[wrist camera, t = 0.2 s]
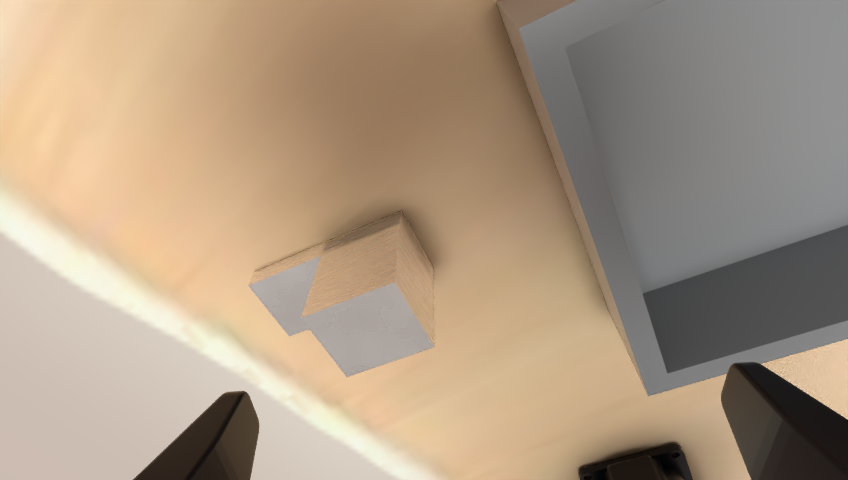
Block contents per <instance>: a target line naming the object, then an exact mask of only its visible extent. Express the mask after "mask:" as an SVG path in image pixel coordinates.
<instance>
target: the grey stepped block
mask: <svg viewBox="0 0 848 480" xmlns="http://www.w3.org/2000/svg"><path fill="white" fill-rule="evenodd" d="M248 286H249V287H250V288H251V290H252V291H253V292H254V293H255V294H256V296H257V297H258V298H259V299H260V301H261V302H262V303H263V304H264V306H265V307H266V308H267V309H268V311H269V312H270V313H271V314H272V315H273V317H274V318H275V319H276V320H277V322H278V323H279V324H280V325H281V327H282V328H283V329H284V330H285V332H286V333H287V334H288V335H289V336H292V335H294V334H297V333H300V332H302V331H305V330H308V329H310V330H311V331H312V333H313V334H314V335H315V337H316V338H317V339H318V340H319V342H320V343H321V344H322V346H323V347H324V348H325V349H326V351H327V352H328V353H329V355H330V356H331V357H332V358H333V360H334V361H335V362H336V364H337V365H338V366H339V368H340V369H341V370H342V371H343V373H344V374H345V375H346V377H348V376H351V375H354V374H357V373H360V372H363V371H366V370H369V369H372V368H375V367H378V366H380V365H383V364H386V363H389V362H392V361H395V360H398V359H401V358H404V357H407V356H410V355H413V354H415V353H418V352H421V351H424V350H427V349H430V348H433V347H435V331H434V268H433V266H432V264H431V262H430V260H429V259H428V257H427V255H426V253H425V252H424V250H423V248H422V246H421V244H420V243H419V241H418V239H417V237H416V236H415V234H414V232H413V230H412V228H411V227H410V225H409V223H408V221H407V220H406V218H405V216H404V214H403V212H402V211H398V212H396V213H394V214H391V215H389V216H387V217H384V218H382V219H379V220H377V221H375V222H372V223H370V224H367V225H365V226H363V227H360V228H358V229H355V230H353V231H351V232H348V233H346V234H343V235H341V236H339V237H336V238H334V239H331V240H329V241H327V242H324V243H322V244H319V245H317V246H315V247H312V248H310V249H308V250H305V251H303V252H300V253H298V254H296V255H293V256H291V257H288V258H286V259H284V260H281V261H279V262H276V263H274V264H272V265H269V266H267V267H264V268H262V269H260V270H257V271H255V273H254V275H253V277H252V279H251V281H250V283H249V285H248Z"/></svg>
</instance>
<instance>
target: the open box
mask: <svg viewBox="0 0 848 480" xmlns="http://www.w3.org/2000/svg"><path fill="white" fill-rule="evenodd" d="M496 3H497V6H498V9H499V12H500V14H501V17H502V20H503V23H504V25H505V28H506V31H507V34H508V36H509V39H510V42H511V45H512V47H513V50H514V53H515V55H516V58H517V61H518V64H519V66H520V69H521V72H522V75H523V77H524V80H525V83H526V86H527V88H528V91H529V94H530V97H531V99H532V102H533V105H534V107H535V110H536V113H537V116H538V118H539V121H540V124H541V127H542V129H543V132H544V135H545V138H546V140H547V143H548V146H549V149H550V151H551V154H552V157H553V160H554V162H555V165H556V168H557V170H558V173H559V176H560V179H561V181H562V184H563V187H564V190H565V192H566V195H567V198H568V201H569V203H570V206H571V209H572V212H573V214H574V217H575V220H576V222H577V225H578V228H579V231H580V233H581V236H582V239H583V242H584V244H585V247H586V250H587V253H588V255H589V258H590V261H591V264H592V266H593V269H594V272H595V275H596V277H597V280H598V283H599V285H600V288H601V291H602V294H603V296H604V299H605V302H606V305H607V307H608V310H609V313H610V315H611V317H612V319H613V321H614V323H615V326H616V328H617V330H618V332H619V334H620V336H621V339H622V341H623V343H624V345H625V347H626V349H627V351H628V354H629V356H630V358H631V360H632V362H633V364H634V367H635V369H636V371H637V373H638V375H639V377H640V380H641V382H642V384H643V386H644V388H645V390H646V393H647V395H648V396H651V395H654V394H658V393H661V392H664V391H668V390H671V389H675V388H678V387H682V386H685V385H689V384H692V383H696V382H699V381H703V380H706V379H710V378H713V377H717V376H720V375H723V374H727V373H728V369H729V367H730V366H731V365H732V364H733V363H741V362H756V363H759V364H762V363H765V362H769V361H772V360H776V359H779V358H783V357H786V356H789V355H793V354H796V353H800V352H803V351H807V350H810V349H814V348H817V347H821V346H824V345H828V344H831V343H835V342H838V341H842V340H845V339H848V0H499V1H497V2H496Z"/></svg>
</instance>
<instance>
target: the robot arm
mask: <svg viewBox="0 0 848 480" xmlns="http://www.w3.org/2000/svg"><path fill="white" fill-rule="evenodd" d="M721 401H722V406H723V409H724V411H725V414H726V417H727V419H728V422H729V424H730V427H731V429H732V432H733V434H734V437H735V439H736V442H737V445H738V447H739V450H740V452H741V455H742V457H743V460H744V462H745V465H746V467H747V470H748V473H749V475H750V477H751V480H848V420H847V419H846V418H844V417H843V416H841V415H840V414H838V413H836V412H835V411H833V410H832V409H830V408H829V407H827V406H825V405H824V404H822V403H821V402H819V401H818V400H816V399H814V398H813V397H811V396H810V395H808V394H807V393H805V392H803V391H802V390H800V389H799V388H797V387H796V386H794V385H792V384H791V383H789V382H788V381H786V380H785V379H783V378H781V377H780V376H778V375H777V374H775V373H774V372H772V371H770V370H769V369H767V368H766V367H764V366H763V365H761V364H759V363H756V362H741V363H733V364H732V365H731V366H730V367H729V369H728V373H727V376H726V380H725V383H724V387H723V390H722V394H721ZM258 433H259V421H258V417H257V414H256V412H255V410H254V407H253V404H252V401H251V399H250V396H249V395H248V393H247V392H245V391H236V392H226V393H224V394H222V395H221V396H220V397H219V398H218V399H217V400H216V401H215V402H214V403H213V404H212V405H211V406H210V407H209V408H208V409H206V410H205V411H204V412H203V413H202V414H201V415H200V416H199V417H198V418H197V419H196V420H195V421H194V422H193V423H192V424H191V425H190V426H189V427H188V428H187V429H186V430H185V431H183V432H182V433H181V434H180V435H179V436H178V437H177V438H176V439H175V440H174V441H173V442H172V443H171V444H170V445H169V446H168V447H167V448H166V449H165V450H164V451H163V452H162V453H161V454H160V455H158V456H157V457H156V458H155V459H154V460H153V461H152V462H151V463H150V464H149V465H148V466H147V467H146V468H145V469H144V470H143V471H142V472H141V473H140V474H139V475H137V476H136V477H135V478H134V479H133V480H250V477H251V472H252V466H253V461H254V455H255V450H256V445H257V439H258ZM578 474H579V478H580V480H693V479H692V476H691V473H690V470H689V467H688V464H687V461H686V457H685V454H684V452H683V450H682V448H681V446H680V445H676V444H673V445H669V446H665V447H661V448H657V449H654V450H650V451H646V452H642V453H638V454H635V455H631V456H627V457H623V458H619V459H616V460H612V461H608V462H604V463H600V464H597V465H593V466H589V467H585V468H582V469H580V470H579V472H578Z"/></svg>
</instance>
